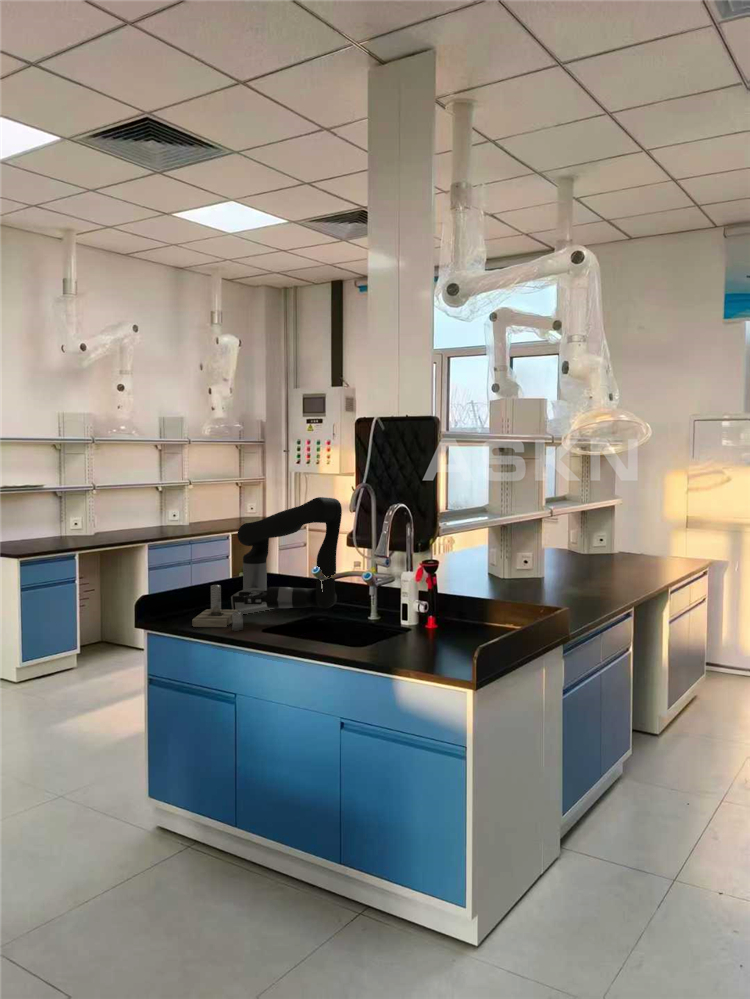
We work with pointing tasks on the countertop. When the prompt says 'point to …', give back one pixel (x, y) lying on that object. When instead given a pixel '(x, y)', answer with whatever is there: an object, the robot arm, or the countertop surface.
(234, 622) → the short pin
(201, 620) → the hole plate
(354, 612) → the countertop surface
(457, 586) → the countertop surface
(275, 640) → the countertop surface
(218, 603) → the long pin
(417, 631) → the countertop surface
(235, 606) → the hinge
